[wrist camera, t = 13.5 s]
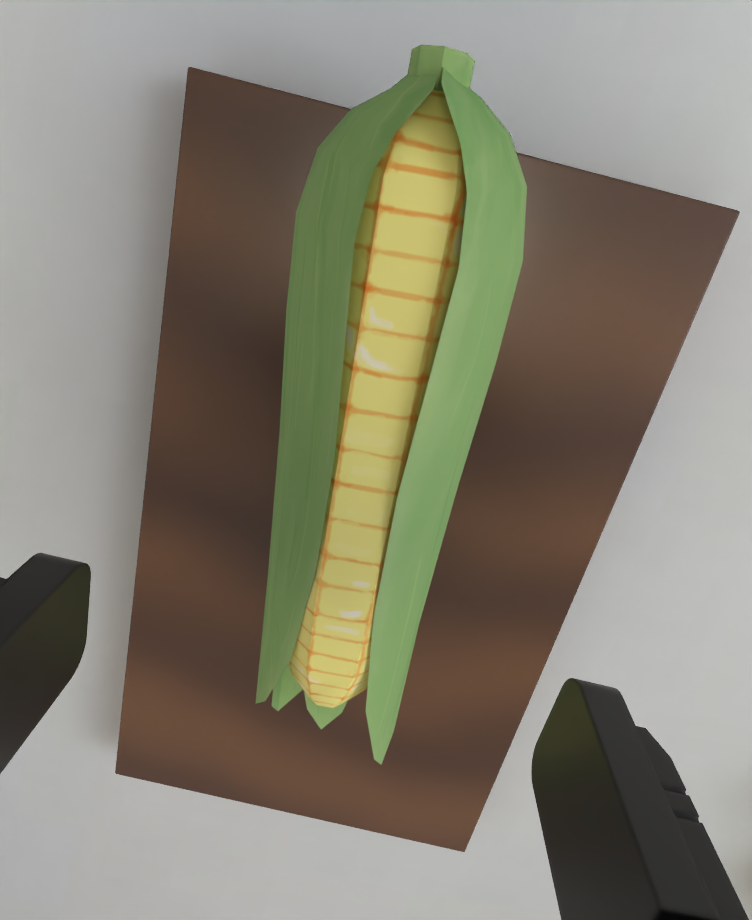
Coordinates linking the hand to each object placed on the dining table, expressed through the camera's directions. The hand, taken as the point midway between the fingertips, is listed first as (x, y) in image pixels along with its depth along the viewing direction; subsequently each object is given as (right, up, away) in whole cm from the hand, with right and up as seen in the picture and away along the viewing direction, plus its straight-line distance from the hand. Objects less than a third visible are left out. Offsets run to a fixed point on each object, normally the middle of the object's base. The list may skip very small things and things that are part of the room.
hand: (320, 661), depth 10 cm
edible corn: (+1, +3, +8) cm, 9 cm away
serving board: (0, +1, +11) cm, 11 cm away
